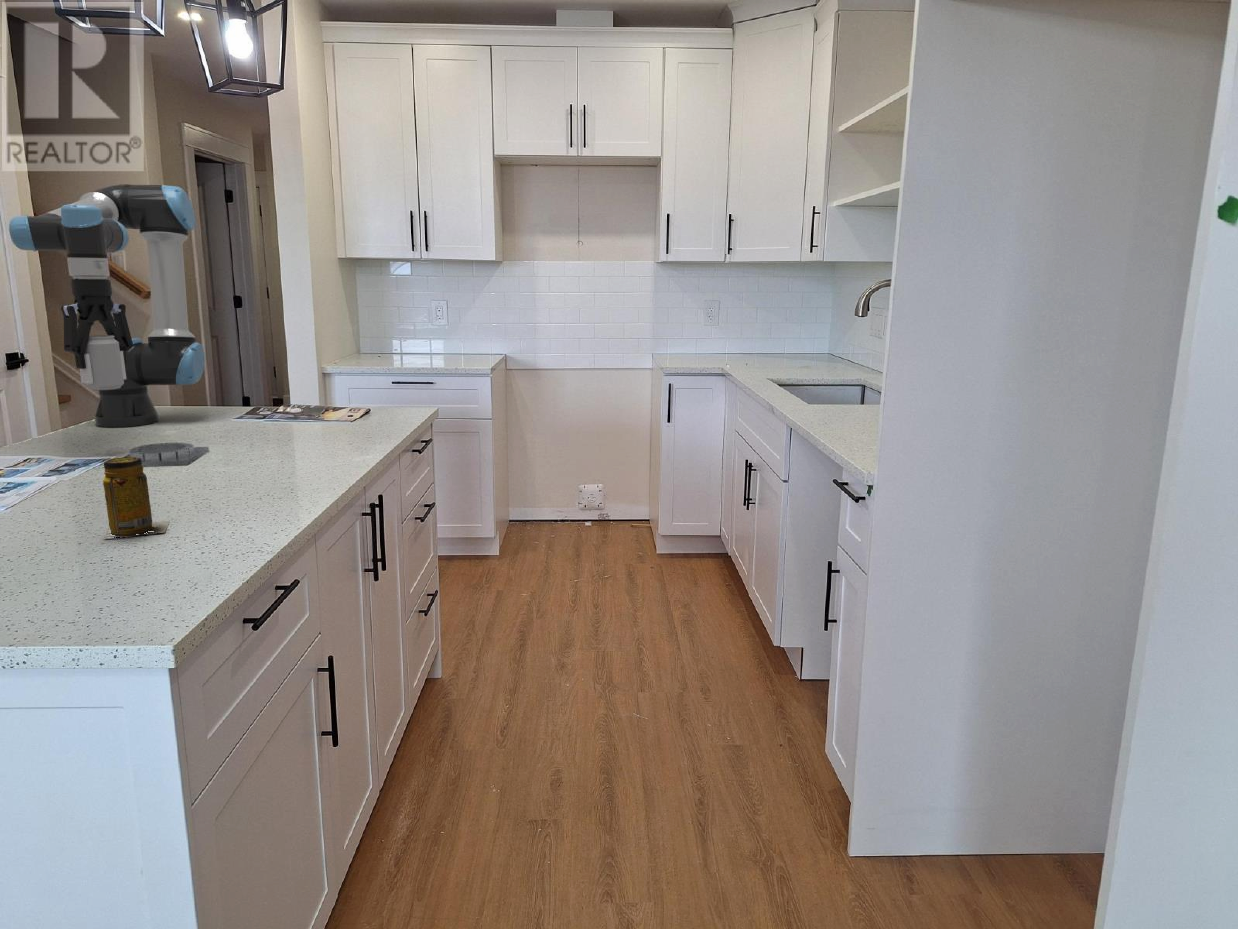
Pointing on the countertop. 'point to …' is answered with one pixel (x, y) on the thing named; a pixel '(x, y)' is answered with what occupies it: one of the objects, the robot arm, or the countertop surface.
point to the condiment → (128, 499)
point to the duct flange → (167, 454)
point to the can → (105, 362)
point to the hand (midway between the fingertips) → (104, 380)
